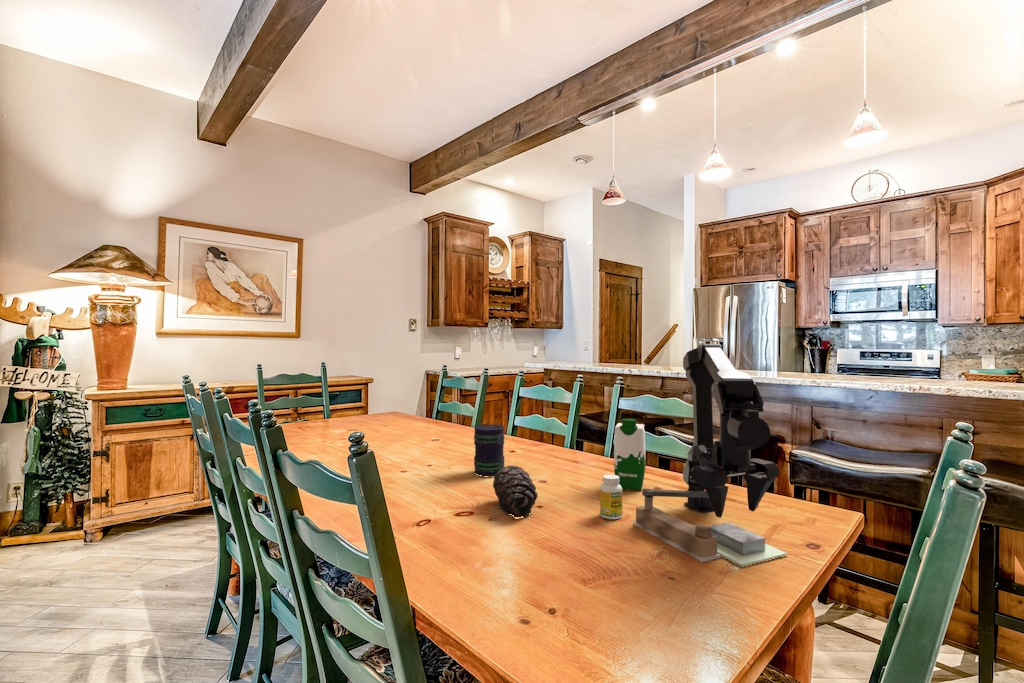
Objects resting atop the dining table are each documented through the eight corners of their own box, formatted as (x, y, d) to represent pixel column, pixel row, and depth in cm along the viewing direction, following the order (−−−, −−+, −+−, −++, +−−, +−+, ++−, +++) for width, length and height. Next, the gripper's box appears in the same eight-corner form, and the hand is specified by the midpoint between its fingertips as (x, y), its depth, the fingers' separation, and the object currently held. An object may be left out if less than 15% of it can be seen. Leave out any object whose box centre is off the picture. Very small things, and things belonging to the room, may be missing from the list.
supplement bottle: (611, 510, 119) (611, 472, 119) (627, 517, 114) (627, 477, 114) (595, 514, 116) (595, 475, 116) (611, 521, 111) (611, 480, 111)
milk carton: (612, 489, 136) (612, 419, 136) (616, 481, 145) (616, 415, 145) (644, 492, 133) (644, 421, 134) (646, 483, 142) (646, 416, 142)
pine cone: (510, 523, 110) (510, 480, 111) (487, 500, 127) (487, 462, 127) (551, 517, 114) (551, 476, 114) (523, 495, 131) (523, 459, 131)
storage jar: (470, 476, 150) (470, 429, 150) (477, 468, 160) (477, 424, 160) (501, 477, 148) (501, 430, 148) (506, 469, 158) (506, 425, 158)
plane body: (633, 524, 110) (633, 494, 110) (650, 521, 112) (649, 492, 112) (701, 562, 90) (701, 526, 90) (720, 558, 92) (720, 523, 92)
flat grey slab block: (728, 534, 102) (728, 522, 102) (765, 550, 94) (765, 538, 94) (707, 538, 100) (707, 526, 100) (743, 555, 92) (742, 542, 92)
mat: (729, 530, 106) (729, 527, 106) (787, 556, 93) (787, 553, 93) (687, 539, 101) (687, 536, 101) (742, 567, 88) (742, 564, 88)
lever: (643, 496, 107) (643, 490, 107) (641, 492, 110) (641, 486, 110) (718, 499, 105) (718, 492, 105) (714, 495, 108) (714, 488, 108)
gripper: (736, 428, 108) (736, 496, 108) (671, 434, 101) (671, 507, 101) (780, 436, 98) (781, 512, 98) (712, 444, 91) (712, 525, 90)
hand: (735, 513), depth 97 cm, fingers open, 9 cm apart
